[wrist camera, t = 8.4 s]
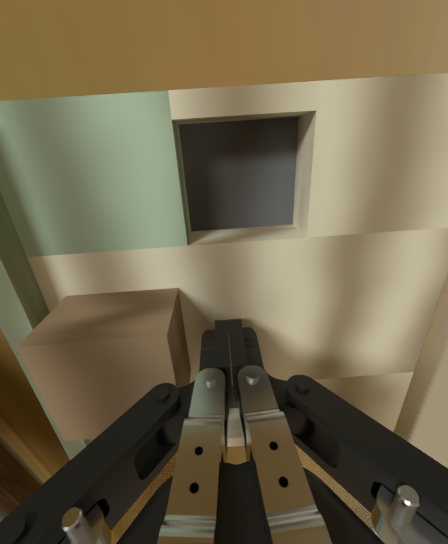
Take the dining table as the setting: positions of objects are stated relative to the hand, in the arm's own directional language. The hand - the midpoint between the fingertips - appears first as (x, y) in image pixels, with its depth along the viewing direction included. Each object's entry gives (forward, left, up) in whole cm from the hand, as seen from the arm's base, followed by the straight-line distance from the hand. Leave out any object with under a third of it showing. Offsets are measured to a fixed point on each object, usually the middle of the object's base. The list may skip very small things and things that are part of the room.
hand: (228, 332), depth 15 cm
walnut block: (-5, +3, -1) cm, 6 cm away
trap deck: (0, 0, -4) cm, 4 cm away
